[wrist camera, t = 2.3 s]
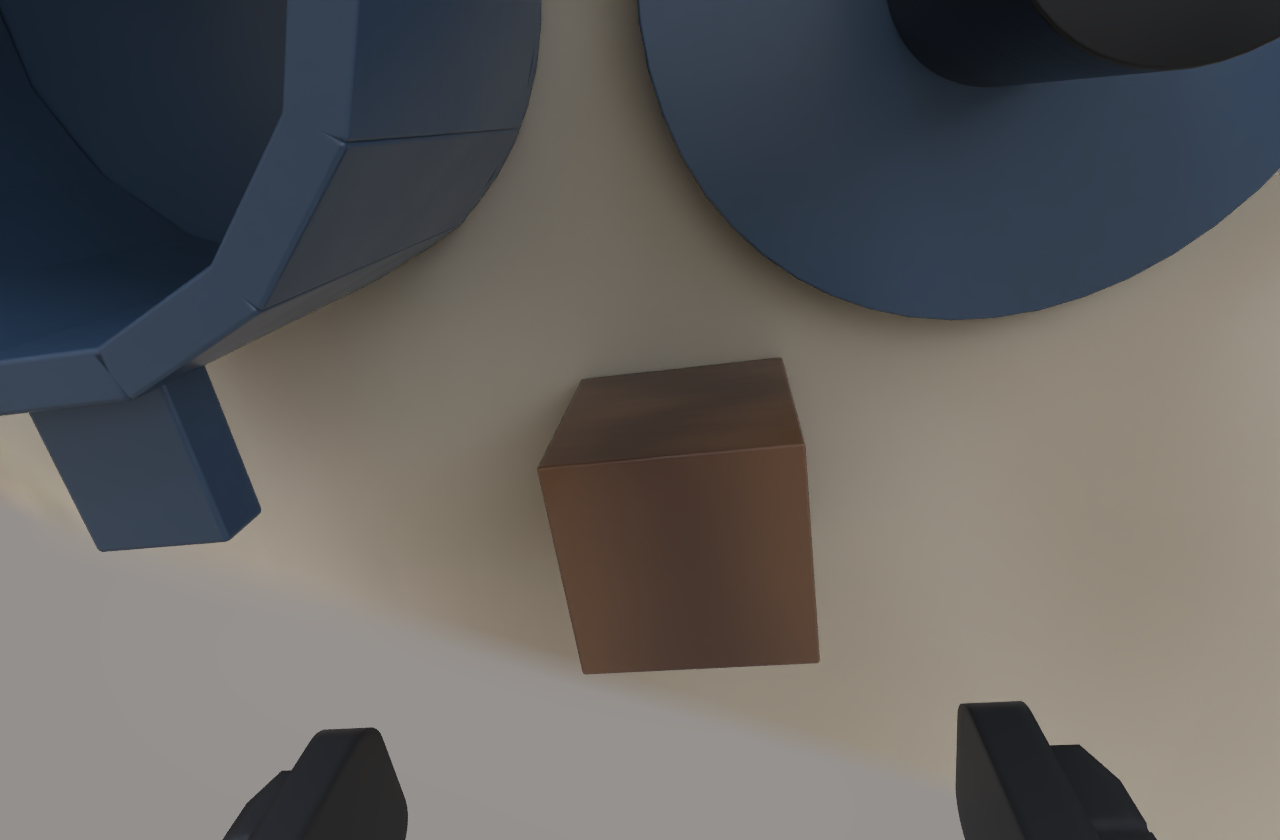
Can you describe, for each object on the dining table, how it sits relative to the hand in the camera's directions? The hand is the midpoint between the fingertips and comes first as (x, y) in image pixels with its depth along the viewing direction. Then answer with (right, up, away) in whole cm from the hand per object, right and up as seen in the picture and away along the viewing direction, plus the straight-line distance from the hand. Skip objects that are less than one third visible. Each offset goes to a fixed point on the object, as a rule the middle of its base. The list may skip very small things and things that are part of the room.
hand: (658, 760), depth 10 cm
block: (+1, +4, +9) cm, 10 cm away
